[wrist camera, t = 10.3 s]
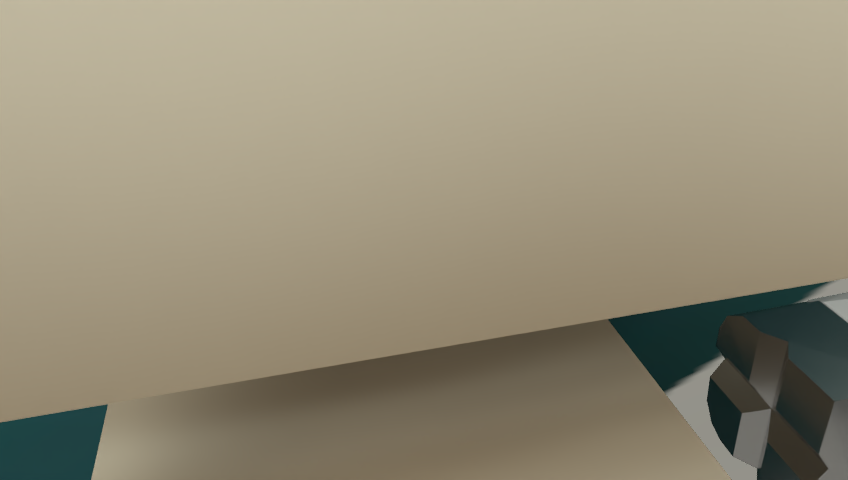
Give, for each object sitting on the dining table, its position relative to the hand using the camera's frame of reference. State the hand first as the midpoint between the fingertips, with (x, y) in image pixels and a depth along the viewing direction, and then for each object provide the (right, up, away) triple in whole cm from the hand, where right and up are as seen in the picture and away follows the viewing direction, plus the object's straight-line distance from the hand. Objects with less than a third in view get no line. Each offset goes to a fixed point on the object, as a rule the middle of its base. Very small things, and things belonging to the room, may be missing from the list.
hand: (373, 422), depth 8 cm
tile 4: (-2, +7, +4) cm, 8 cm away
